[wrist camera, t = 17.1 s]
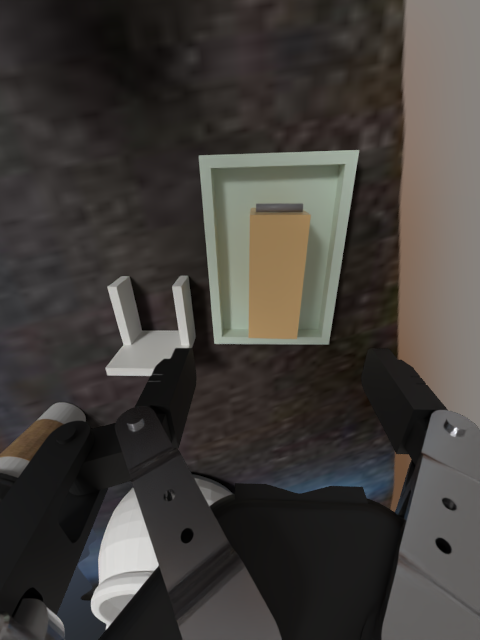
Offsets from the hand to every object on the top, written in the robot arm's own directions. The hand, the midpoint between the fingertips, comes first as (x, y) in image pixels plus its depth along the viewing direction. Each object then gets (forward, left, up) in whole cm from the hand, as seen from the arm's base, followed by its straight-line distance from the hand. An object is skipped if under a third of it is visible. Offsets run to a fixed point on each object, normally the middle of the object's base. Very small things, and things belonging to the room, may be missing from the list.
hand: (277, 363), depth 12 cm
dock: (+7, -13, -20) cm, 25 cm away
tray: (+1, +1, -20) cm, 20 cm away
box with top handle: (+1, +1, -20) cm, 20 cm away
